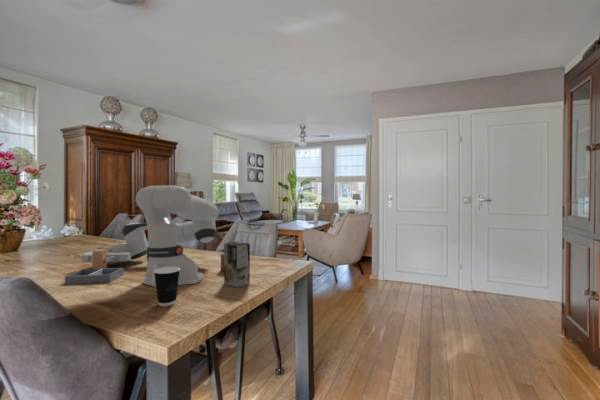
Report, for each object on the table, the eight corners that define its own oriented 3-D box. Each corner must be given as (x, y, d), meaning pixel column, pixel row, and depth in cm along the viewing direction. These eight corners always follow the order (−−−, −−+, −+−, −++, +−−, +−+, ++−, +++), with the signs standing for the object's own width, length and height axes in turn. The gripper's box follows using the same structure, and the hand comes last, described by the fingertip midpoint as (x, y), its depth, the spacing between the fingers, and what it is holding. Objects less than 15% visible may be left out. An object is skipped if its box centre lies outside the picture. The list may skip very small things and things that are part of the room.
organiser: (123, 274, 127) (123, 267, 127) (110, 282, 116) (110, 274, 116) (82, 276, 125) (82, 269, 125) (64, 284, 113) (64, 276, 113)
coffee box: (250, 284, 113) (250, 243, 113) (236, 288, 109) (236, 245, 108) (237, 279, 120) (237, 241, 119) (223, 283, 115) (223, 242, 115)
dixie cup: (161, 298, 97) (161, 266, 97) (184, 299, 97) (184, 266, 97) (148, 307, 89) (148, 272, 89) (173, 308, 89) (173, 272, 89)
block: (107, 271, 133) (107, 249, 133) (102, 273, 129) (102, 251, 129) (97, 271, 133) (97, 249, 132) (92, 273, 129) (92, 251, 129)
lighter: (238, 270, 134) (238, 249, 134) (234, 272, 131) (234, 250, 131) (223, 269, 137) (223, 248, 137) (219, 271, 134) (219, 249, 134)
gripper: (136, 260, 145) (123, 266, 132) (91, 261, 142) (74, 268, 128) (136, 247, 145) (123, 252, 132) (91, 248, 142) (74, 254, 128)
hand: (98, 260), depth 130 cm, fingers closed on block, 4 cm apart
